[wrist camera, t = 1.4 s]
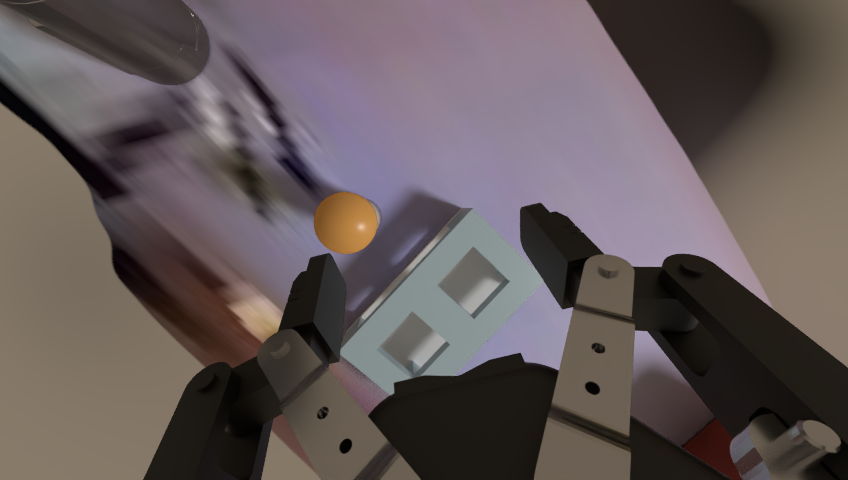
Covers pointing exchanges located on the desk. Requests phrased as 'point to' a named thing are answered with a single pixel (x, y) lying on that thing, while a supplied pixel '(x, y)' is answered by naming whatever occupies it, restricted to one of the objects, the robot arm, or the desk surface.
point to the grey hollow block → (441, 305)
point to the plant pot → (714, 449)
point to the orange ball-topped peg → (346, 222)
